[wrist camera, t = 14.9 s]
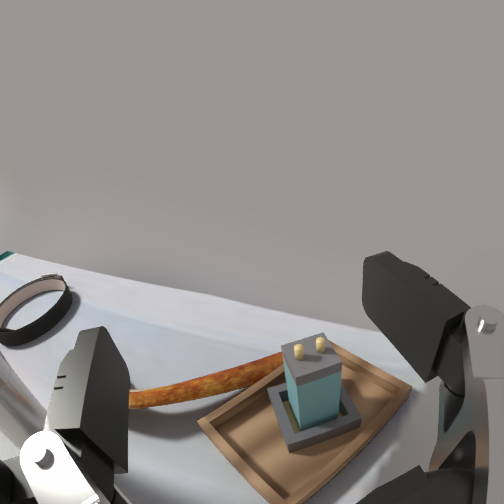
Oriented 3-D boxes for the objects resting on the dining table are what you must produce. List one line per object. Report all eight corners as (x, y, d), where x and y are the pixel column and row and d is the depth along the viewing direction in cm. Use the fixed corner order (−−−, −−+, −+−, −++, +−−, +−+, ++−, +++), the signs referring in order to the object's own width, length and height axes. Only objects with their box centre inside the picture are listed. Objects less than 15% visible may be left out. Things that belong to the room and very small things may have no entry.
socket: (288, 453, 31) (287, 444, 30) (269, 398, 40) (266, 388, 39) (359, 427, 32) (362, 417, 31) (332, 378, 41) (332, 367, 40)
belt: (89, 281, 83) (83, 267, 81) (45, 347, 57) (35, 330, 54) (27, 290, 85) (21, 278, 82) (-18, 345, 58) (-26, 331, 56)
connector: (301, 433, 33) (294, 368, 27) (289, 405, 38) (279, 335, 32) (337, 420, 34) (342, 351, 28) (323, 394, 39) (323, 322, 33)
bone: (286, 353, 49) (289, 331, 41) (296, 401, 44) (301, 389, 36) (102, 373, 48) (72, 355, 40) (102, 417, 43) (70, 407, 35)
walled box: (202, 430, 37) (196, 421, 35) (320, 346, 48) (320, 335, 47) (284, 517, 24) (282, 513, 23) (408, 396, 35) (412, 386, 34)
